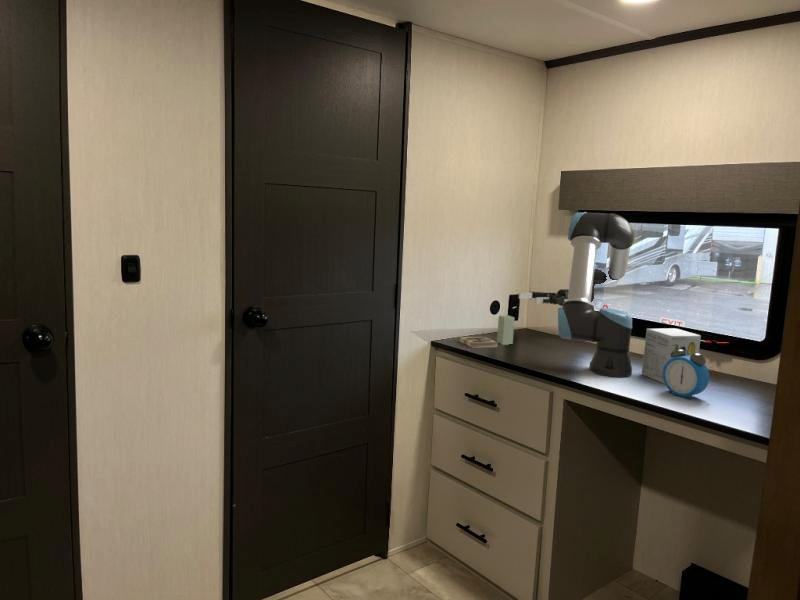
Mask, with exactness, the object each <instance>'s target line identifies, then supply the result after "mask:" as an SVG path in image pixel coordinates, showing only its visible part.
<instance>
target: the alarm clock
mask: <svg viewBox="0 0 800 600" xmlns="http://www.w3.org/2000/svg"><path fill="white" fill-rule="evenodd" d="M684 354H686V352H685V351H684V350H682V349H676V350H674V351H672V353H671V355H670V356H671V358H672V359H670V360H669V361H668V362H667V363H666V364H665V366H664V368H663V380H664V383H665V384H664V383H663V384H664V385H665V386H666V388H667V389H668V391H669V394H673V395H675V396H678V397H682V398H683V397H684V398H685V397H687V398H688V400H690V399H691V396H695V395H698V394H701V393H703V392H704V391H705V390H706V388H708V386H709V382H710V373H709V369H708V367H707V366H706V363H707V359H706V357H705V356H704V355H703V354H702V353H700V352H699V353H693V354H692V355H684ZM687 354H690V353H688V352H687ZM681 355H684V356H681ZM677 356H678V357H677ZM673 357H674V358H673Z"/></svg>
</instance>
